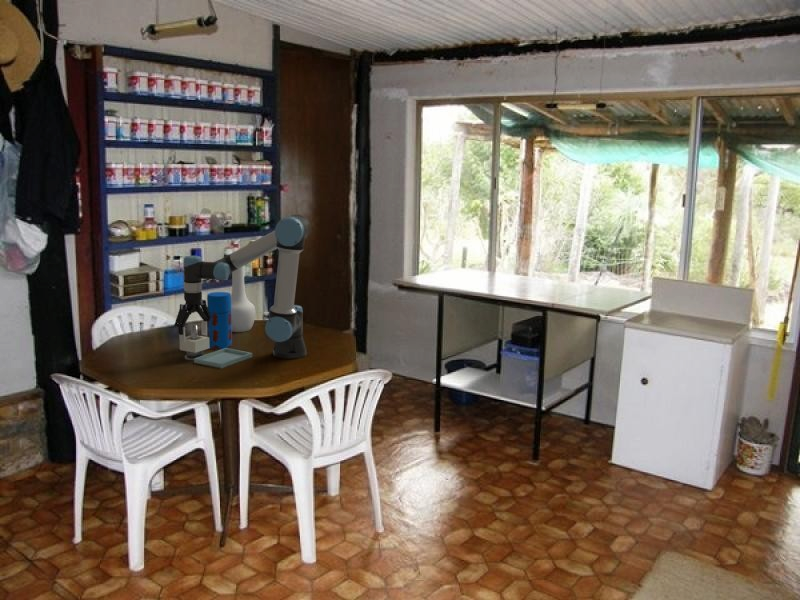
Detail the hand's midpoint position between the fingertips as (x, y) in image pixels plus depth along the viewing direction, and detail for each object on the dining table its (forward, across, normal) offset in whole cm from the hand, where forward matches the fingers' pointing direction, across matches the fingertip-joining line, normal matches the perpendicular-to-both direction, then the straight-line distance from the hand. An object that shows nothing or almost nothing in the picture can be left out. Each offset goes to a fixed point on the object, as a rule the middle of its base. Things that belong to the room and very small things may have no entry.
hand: (193, 338), depth 315 cm
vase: (+9, -50, -16) cm, 54 cm away
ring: (+5, 0, 0) cm, 5 cm away
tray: (+9, -4, +14) cm, 17 cm away
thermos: (+9, -21, -4) cm, 23 cm away
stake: (+9, 0, 0) cm, 9 cm away
